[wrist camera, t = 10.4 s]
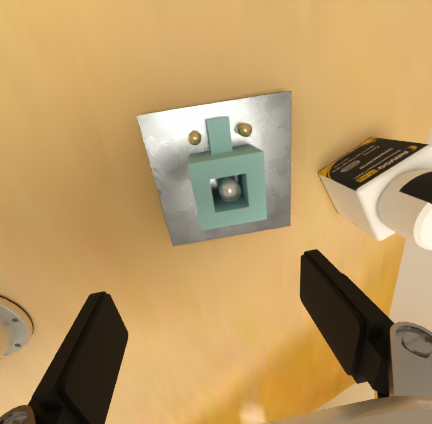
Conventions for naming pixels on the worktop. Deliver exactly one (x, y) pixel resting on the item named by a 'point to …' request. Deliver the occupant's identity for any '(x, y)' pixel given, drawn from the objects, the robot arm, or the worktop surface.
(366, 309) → the robot arm
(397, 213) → the medicine bottle
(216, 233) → the post base
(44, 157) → the worktop surface
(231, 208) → the teal hollow square block
